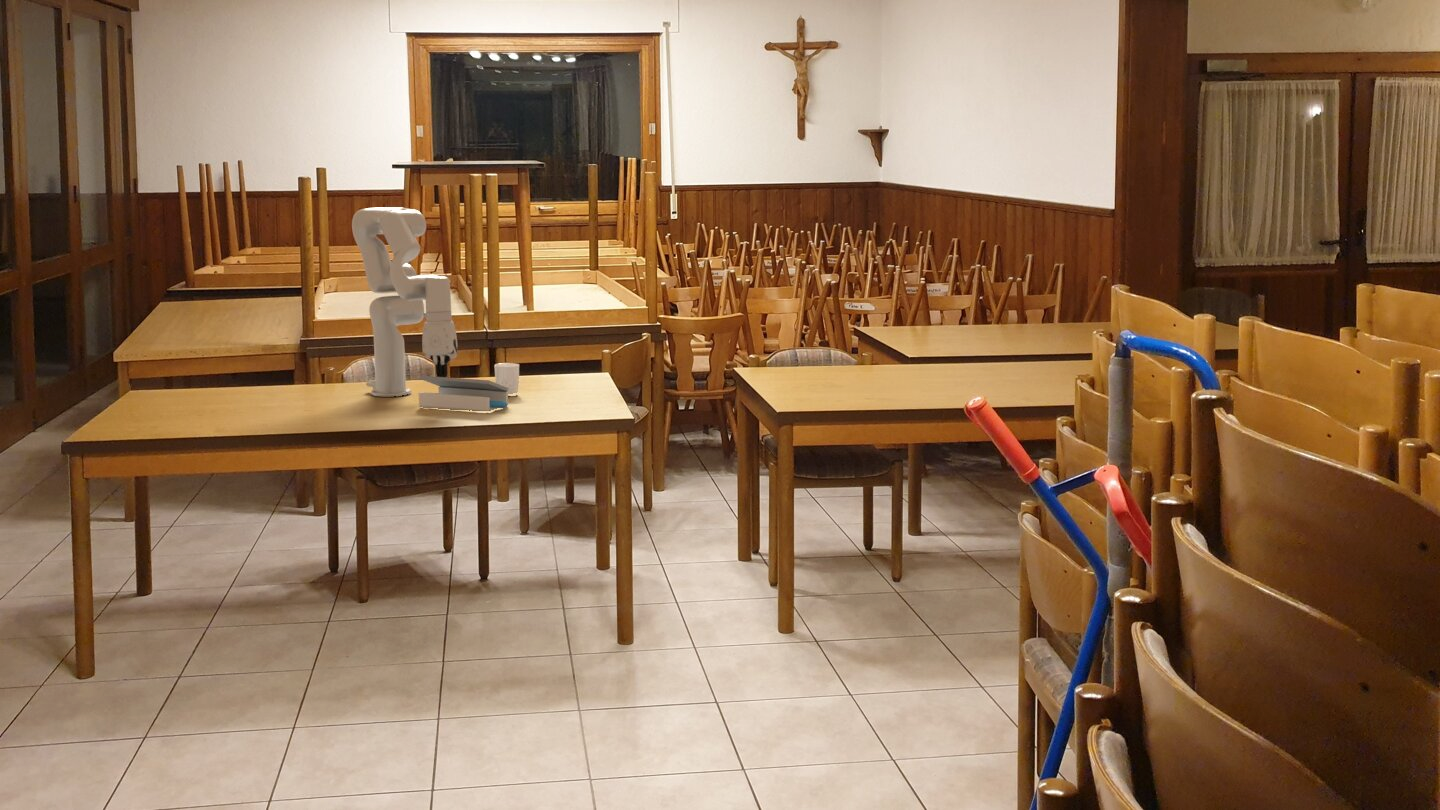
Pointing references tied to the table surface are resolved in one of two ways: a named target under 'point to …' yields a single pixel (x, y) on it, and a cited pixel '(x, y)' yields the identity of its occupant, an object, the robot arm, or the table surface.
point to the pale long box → (462, 399)
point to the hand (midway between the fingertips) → (442, 377)
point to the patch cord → (498, 404)
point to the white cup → (507, 376)
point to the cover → (464, 383)
